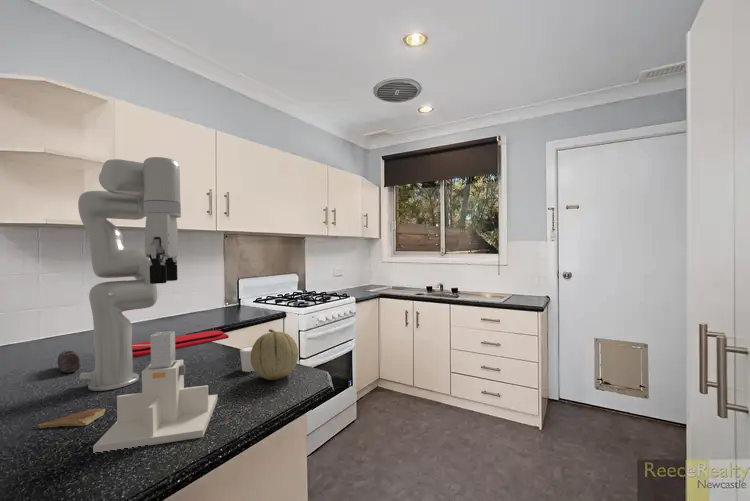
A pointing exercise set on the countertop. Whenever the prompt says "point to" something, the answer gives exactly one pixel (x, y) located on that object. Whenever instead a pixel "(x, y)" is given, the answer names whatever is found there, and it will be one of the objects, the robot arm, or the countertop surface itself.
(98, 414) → the shard
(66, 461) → the countertop surface
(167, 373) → the cream stand
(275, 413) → the countertop surface
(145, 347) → the dish drying mat
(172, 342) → the steel post
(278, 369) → the cantaloupe
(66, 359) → the perforated stone tool
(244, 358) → the shot glass
